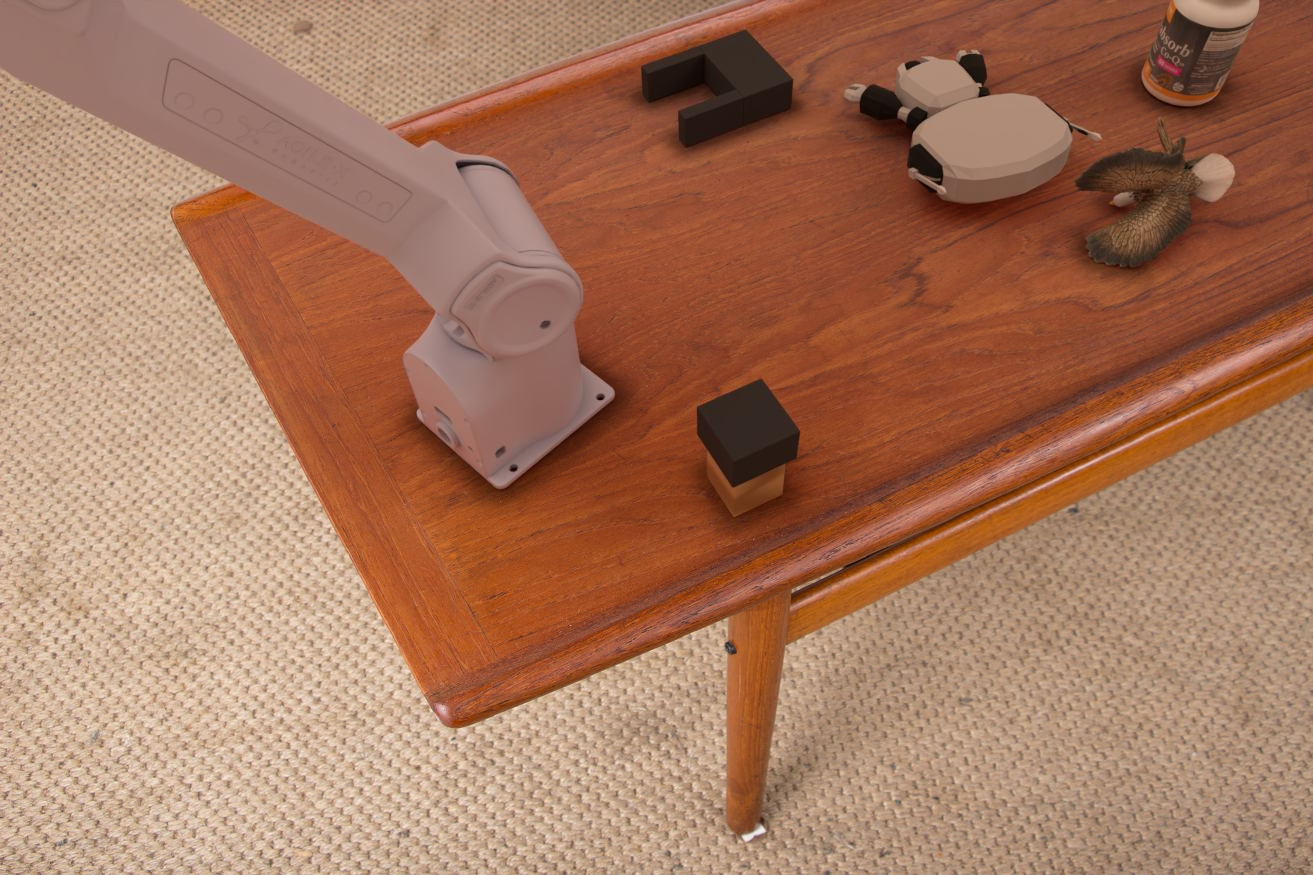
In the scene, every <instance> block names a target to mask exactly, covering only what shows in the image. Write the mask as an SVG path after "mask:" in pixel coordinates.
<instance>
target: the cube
mask: <svg viewBox="0 0 1313 875" xmlns="http://www.w3.org/2000/svg"><path fill="white" fill-rule="evenodd" d="M786 464H787V463H786ZM786 464H784V465H781V466H779V467H777V468H775V469H773V470H771V471H768V472H766V473H764V474H762V475H760V476H758V477H756V478H753V479H751V480H749V481H747V482H745V483H743V484H741V485H738V486H736V487H734V488H732V486H731V485H730V483H729V482H728V480H727V479H726V477H725V476H724V474H723V473H722V471H721V470H720V468H719V467H718V465H717V464H716V462H715V461H714V459H713V458H712V456H711V455H710V453H709V452H708V450H707V449H706V478H707V480H708V481H709V482H710V484H711V485H712V487H713V489H714V490H715V491H716V493H717V494H718V496H719V498H720V499H721V500H722V502H723V504H724V505H725V507H726V508H727V510H728V512H729V513H730V515H731V516H732V517H733V518H736V517H738V516H740V515H743V514H744V513H747V512H749V511H751V510H753V509H755V508H758V507H760V506H761V505H764V504H766V503H768V502H770V501H772V500H774V499H776V498H779V497H781V496H783V492H784V482H785V474H786V473H785V472H786Z"/></svg>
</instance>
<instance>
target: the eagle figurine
mask: <svg viewBox="0 0 1313 875" xmlns="http://www.w3.org/2000/svg"><path fill="white" fill-rule="evenodd" d="M1156 132H1157V133H1158V137H1159V141H1160V144H1161V146H1162V148H1163V149H1164V152H1163V151H1152V150H1150V149H1148V150H1145V149H1144V147H1141V146H1138V147H1130V148H1129V149H1124V150H1122V151H1117V152H1115V153H1112V154H1109V155H1107V156H1103V157H1099V159H1098V160H1097V161H1095V162H1093V163H1091V164H1090V165H1089V167H1088V168H1086V169H1084V170H1082V172H1081V174H1080V175H1079V176H1078V177H1076V178H1075V179H1074V180H1073V182H1074V186H1075V188H1077V191H1078V192H1102V193H1108V194H1116V195H1115V196H1114V197H1113V199H1112V200H1111V201H1110V202H1108V204H1109V206H1116V207H1118V208H1122V207H1126V206H1129V205H1132V204H1136V205H1135V206H1134V207H1133V208H1132V209H1131V210H1129V211H1127V213H1125V214H1124V215H1122V216H1120V217H1118V218H1117V219H1116V220H1115V221H1113V222H1112V223H1109V224H1108V225H1106V226H1104V227H1101V228H1099V229H1097V230H1095V231H1092V232H1091V233H1090V234H1088V235H1086V236H1085V241H1086V242H1087V243H1086V245H1085V249H1087V250H1088V251H1089V252H1088V257H1089V258H1090V259H1093V260H1094V262H1095V263H1097V264H1102V263H1105V265H1106V266H1110V267H1111V266H1116V265H1118V264H1119V267H1120V268H1126V267H1127V266H1129V267H1131V268H1135V267H1139V266H1142V265H1143V264H1147V263H1149V262H1151V260H1153V259H1156V258H1157V257H1158V256H1159V254H1160V253H1162V252H1163V251H1164V250H1166V249H1167V248H1168V246H1169V244H1171V243H1173V241H1174V240H1176V239H1177V238H1178V236H1182V235H1183V234H1185V233H1186V230H1187V229H1189V225H1190V224H1191V223H1192V216H1193V213H1192V212H1191V210H1192V206H1191V205H1190V204H1191V202H1192V199H1191V196H1192V197H1194V198H1197V199H1200V200H1202V201H1204V202H1208V203H1215V202H1217V201H1218V200H1220V199H1221V198H1222V197H1223V196H1224V195H1225V193H1227V191H1228V190H1229V189H1230V188H1231V186H1232V185H1233V182H1234V178H1235V176H1236V171H1235V166H1234V165H1233V163H1232V162H1231V161H1230V160H1229V159H1228V158H1227V157H1225V156H1224V155H1223V154H1220V153H1219V154H1218V153H1216V152H1208V153H1205V154H1203V155H1201V156H1197V157H1195V158H1193V159H1191V160H1190V159H1189V160H1187V161H1186V160H1185V159H1186V157H1185V154H1184V151H1185V147H1186V143H1187V137H1186V136H1181V135H1180V136H1179V138H1178V139H1177V140H1176V141H1175V142H1174V143H1173V142H1172V140H1171V137H1170V136H1169V134H1168V131H1167V127H1166V121H1165V119H1164V118H1163V116H1161V115H1160V116H1158V117H1157V120H1156Z"/></svg>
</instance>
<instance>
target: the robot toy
mask: <svg viewBox="0 0 1313 875" xmlns="http://www.w3.org/2000/svg"><path fill="white" fill-rule="evenodd" d="M966 50H967V49H960V50H959V51H958V52H957V53H956V56H955V60H952V59H943V58H942V59H941V58H940V59H939V58H937V57H936V56H920V60H919V61H918V60H910V61H907V62H902V63H901V64H900V65H899V66H898V67H897V68H896V75H895V84H894V91H892V90H890V89H888V88H885V87H883V86H880V85H877V84H875V83H873V84H870V85H869V86H866V85H865V84H862V83H854V84H851V85H850V86H848V88H846V89H845V90H844V93H843V98H844V100H845V101H846V102H848V103H849V104H851V105H859V113H860V114H863V115H865V116H867V117H870V118H871V119H874V120H877V121H878V122H879V121H880V122H881V121H889V120H890V121H891V120H894V119H898V120H901V121H903V122H904V123H906V125H905V126H906V129H907V130H910V131H912V132H913V133H912V136H911V144H910V148H908V156H907V162H906V167H907V170H908V171H907V172H908V177H909V178H910V179H912V180H913V181H917V182H918V183H919V184H920V185H921V186H923V188H925V189H926V190H927V191H928V192H929V193H930V194H936V195H937V196H938V197H939V199H941V200H942V201H946V202H952V203H956V204H957V203H958V204H963V205H969V204H970V205H972V204H981V203H988V202H989V203H990V202H993V201H998V200H1003V199H1007V198H1011V197H1012V198H1013V197H1016V196H1020V195H1023V194H1026V193H1027V192H1029V191H1032V190H1034V189H1035V188H1037V187H1039V186H1041V185H1043V184H1045V183H1047V182H1048V181H1050V180H1052V179H1053V178H1054V177H1056V176H1057V175H1059V173H1060V172H1061V171H1062V170H1063V169H1064V167H1065V166H1066V164H1067V161H1068V158H1069V154H1070V151H1071V147H1072V144H1073V139H1074V138H1073V132H1076V133H1079V134H1082V135H1083V136H1086V137H1088V138H1090V139H1091V140H1093V141H1095V142H1098V141H1102V140H1103V139H1102V136H1101V134H1100V133H1098V132H1093V131H1090V130H1089V129H1086V128H1084V127H1082V126H1079V125H1077V124H1075V123H1072V122H1070V119H1069V118H1067V117H1064V116H1062V115H1061V114H1060V113H1058V112H1057V111H1056V110H1055V109H1054V108H1053V107H1052V106H1050V105H1049V104H1048V103H1047V102H1043V101H1042V100H1040V98H1038V97H1037V96H1035V95H1028V94H1022V93H1015V92H1012V93H1011V92H1010V93H1009V92H1008V93H1000V94H991V93H990V90H989V87H986V86H985V84H986V81H987V79H988V70H987V69H988V68H987V66H986V61H985V59H984V55H983V54H981V53H980V52H979V51H978V50H977V49H969V50H968V51H969V52H967V51H966Z"/></svg>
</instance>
